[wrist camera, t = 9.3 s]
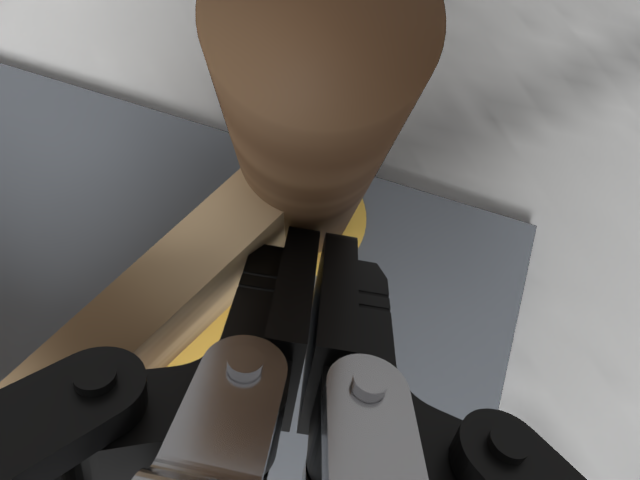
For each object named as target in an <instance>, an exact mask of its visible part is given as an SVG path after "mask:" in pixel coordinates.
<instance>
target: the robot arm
mask: <svg viewBox="0 0 640 480" xmlns="http://www.w3.org/2000/svg"><path fill="white" fill-rule="evenodd" d="M319 240H320V231H315V230H309V229H301V228H295V227H290V226H289V228H288V232H287V237H286V241H285V246H284V247H279V246H273V245H267V244H264V245H262V246H261V247H259V248H258V249H257V250H255V251H254V252H252V253H251V254H249V255H248V258H247V261H246V264H245V266H244V269H243V274H242V275H241V278H240V281H239V285H238V287H237V290H236V293H235V296H234V299H233V302H232V305H231V308H230V311H229V314H228V317H227V320H226V323H225V326H224V329H223V332H222V335H221V337H220V340H219V341H218V342H216V343H214V344H213V345H212V346H211V347H210V348H209V349H208V350H207V351H206V352H205V354H204V356H203V357H201V358H200V359H198V360H195V361H193V362H191V363H187V364H184V365H179V366H172V367H162V368H153V369H146V368H145V366H144V364H143V362H142V361H141V360H140V358H139V357H138V356H136V355H135V354H134V353H132V352H130V351H128V350H125V349H123V348H118V347H110V346H102V347H94V348H88V349H85V350H82V351H79V352H77V353H74V354H72V355H70V356H68V357H66V358H64V359H61V360H59V361H57V362H55V363H53V364H51V365H49V366H47V367H45V368H43V369H41V370H39V371H36V372H34V373H32V374H30V375H28V376H26V377H24V378H22V379H20V380H18V381H16V382H14V383H11V384H9V385H7V386H5V387H3V388H1V389H0V480H268V476H269V471H270V468H271V467H272V465H273V463H274V461H275V458H276V454H277V448H278V443H279V438H280V433H281V431H284V432H290V427H291V422H292V417H293V413H294V408H295V403H296V398H297V393H298V388H299V384H300V379H301V374H302V369H303V364H304V360H305V364H304V373H303V382H302V390H301V399H300V408H299V416H298V425H297V433H299V434H305V435H309V436H308V447H307V456H306V460H305V464H304V468H303V473H302V480H587V479H586V478H585V477H584V476H583V475H581V474H580V473H579V472H578V471H577V470H576V469H575V468H574V467H573V466H572V465H571V464H570V463H568V462H567V461H566V460H565V459H564V458H563V457H562V456H561V455H560V454H559V453H558V452H557V451H556V450H554V449H553V448H552V447H551V446H550V445H549V444H548V443H547V442H546V441H545V440H544V439H543V438H542V437H540V436H539V435H538V434H537V433H536V432H535V431H534V430H533V429H532V428H531V427H529V426H528V425H527V424H526V423H524V422H523V421H522V420H520V419H519V418H517V417H515V416H513V415H511V414H509V413H506V412H504V411H500V410H497V409H489V408H485V409H478V410H474V411H472V412H470V413H469V414H468V415H466V416H465V418H464V419H463V420H461V419H459V418H457V417H454V416H452V415H450V414H448V413H445V412H443V411H441V410H439V409H436V408H434V407H432V406H430V405H428V404H426V403H425V402H423V401H422V400H420V399H419V398H418V397H417V396H415V395H414V394H413V393H412V392H411V391H410V388H409V385H408V383H407V381H406V379H405V377H404V376H403V375H402V373H401V372H400V371H399V370H398V369H397V365H396V357H395V347H394V337H393V327H392V318H391V312H390V309H391V308H390V298H389V288H388V279H387V277H386V276H385V274H384V273H383V271H382V270H381V268H380V267H379V265H378V264H377V263H373V262H368V261H362V260H358V238H356V237H351V236H345V235H339V234H333V233H327V232H326V234H325V238H324V242H323V247H322V252H321V257H320V262H319V267H318V272H317V277H316V282H315V275H316V267H317V258H318V249H319ZM314 284H315V287H314ZM305 355H306V356H305Z"/></svg>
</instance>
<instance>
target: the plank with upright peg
mask: <svg viewBox="0 0 640 480" xmlns="http://www.w3.org/2000/svg"><path fill="white" fill-rule="evenodd" d="M196 27H197V33H198V38H199V41H200V44H201V47H202V51H203V54H204V57H205V60H206V63H207V66H208V69H209V72H210V75H211V79H212V82H213V85H214V88H215V91H216V94H217V97H218V100H219V103H220V106H221V109H222V113H223V116H224V119H225V122H226V125H227V128H228V131H229V134H230V137H231V140H232V143H233V147H234V150H235V153H236V156H237V159H238V162H239V165H240V169H239V170H238V171H237V172H235V173H234V174H233V175H232V176H231V177H230V178H229V179H228V180H227V181H225V182H224V183H223V184H222V185H221V186H220V187H219V188H218V189H216V190H215V191H214V192H213V193H212V194H211V195H210V196H209V197H207V198H206V199H205V200H204V201H203V202H202V203H201V204H200V205H198V206H197V207H196V208H195V209H194V210H193V211H192V212H191V213H189V214H188V215H187V216H186V217H185V218H184V219H183V220H182V221H180V222H179V223H178V224H177V225H176V226H175V227H174V228H173V229H172V230H170V231H169V232H168V233H167V234H166V235H165V236H164V237H163V238H161V239H160V240H159V241H158V242H157V243H156V244H155V245H154V246H152V247H151V248H150V249H149V250H148V251H147V252H146V253H145V254H143V255H142V256H141V257H140V258H139V259H138V260H137V261H136V262H134V263H133V264H132V265H131V266H130V267H129V268H128V269H127V270H125V271H124V272H123V273H122V274H121V275H120V276H119V277H118V278H116V279H115V280H114V281H113V282H112V283H111V284H110V285H109V286H108V287H106V288H105V289H104V290H103V291H102V292H101V293H100V294H99V295H97V296H96V297H95V298H94V299H93V300H92V301H91V302H90V303H88V304H87V305H86V306H85V307H84V308H83V309H82V310H81V311H79V312H78V313H77V314H76V315H75V316H74V317H73V318H72V319H70V320H69V321H68V322H67V323H66V324H65V325H64V326H63V327H61V328H60V329H59V330H58V331H57V332H56V333H55V334H54V335H52V336H51V337H50V338H49V339H48V340H47V341H46V342H45V343H44V344H42V345H41V346H40V347H39V348H38V349H37V350H36V351H35V352H33V353H32V354H31V355H30V356H29V357H28V358H27V359H26V360H24V361H23V362H22V363H21V364H20V365H19V366H18V367H17V368H15V369H14V370H13V371H12V372H11V373H10V374H9V375H8V376H6V377H5V378H4V379H3V380H2V381H1V382H0V389H1V388H3V387H5V386H7V385H9V384H11V383H14V382H16V381H18V380H20V379H22V378H24V377H26V376H28V375H30V374H32V373H34V372H36V371H39V370H41V369H43V368H45V367H47V366H49V365H51V364H53V363H55V362H57V361H59V360H61V359H64V358H66V357H68V356H70V355H72V354H74V353H77V352H79V351H82V350H85V349H88V348H94V347H102V346H110V347H118V348H123V349H125V350H128V351H130V352H132V353H134V354H135V355H136V356H138V357H139V358H140V360H141V361H142V362H143V364H144V366H145V368H146V369H153V368H162V367H167V366H168V365H169V364H170V363H171V362H172V361H173V360H174V359H175V358H176V357H177V356H178V355H179V354H180V353H181V352H182V351H183V350H184V349H186V348H187V347H188V346H189V345H190V344H191V343H192V342H193V341H194V340H195V339H196V338H197V337H198V336H199V335H200V334H201V333H202V332H203V331H204V330H205V329H207V328H208V327H209V326H210V325H211V324H212V323H213V322H214V321H215V320H216V319H217V318H218V317H219V316H220V315H221V314H222V313H223V312H224V311H225V310H226V309H228V308H229V307H230V306H231V305H232V302H233V299H234V296H235V293H236V290H237V287H238V285H239V281H240V278H241V275H242V274H243V269H244V266H245V264H246V261H247V258H248V255H249V254H251V253H252V252H254V251H255V250H257V249H258V248H259V247H261V246H262V245H264V244H267V245H273V246H279V247H284V246H285V241H286V237H287V232H288V228H289V226H290V227H295V228H301V229H309V230H315V231H320V240H319V249H318V253H319V252H322V247H323V242H324V238H325V234H326V232H327V233H333V234H339V235H342V234H343V232H344V230H345V229H346V227H347V225H348V223H349V222H350V220H351V218H352V216H353V214H354V213H355V211H356V209H357V207H358V206H359V204H360V202H361V200H362V198H363V197H364V195H365V193H366V191H367V189H368V188H369V186H370V184H371V182H372V181H373V179H374V177H375V175H376V173H377V172H378V170H379V168H380V166H381V165H382V163H383V161H384V159H385V157H386V156H387V154H388V152H389V150H390V149H391V147H392V145H393V143H394V141H395V140H396V138H397V136H398V134H399V133H400V131H401V129H402V127H403V125H404V124H405V122H406V120H407V118H408V117H409V115H410V113H411V111H412V109H413V108H414V106H415V104H416V102H417V100H418V99H419V97H420V95H421V93H422V92H423V90H424V88H425V86H426V84H427V83H428V81H429V79H430V77H431V76H432V74H433V72H434V70H435V68H436V66H437V64H438V62H439V59H440V56H441V53H442V50H443V46H444V40H445V34H446V13H445V5H444V0H196Z"/></svg>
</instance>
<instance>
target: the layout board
mask: <svg viewBox="0 0 640 480" xmlns="http://www.w3.org/2000/svg"><path fill="white" fill-rule="evenodd" d="M239 169H240V165H239V162H238V159H237V156H236V153H235V150H234V147H233V143H232V140H231V137H230V134H229V132H226V131H223V130H220V129H216V128H213V127H210V126H206V125H203V124H200V123H197V122H193V121H190V120H187V119H183V118H180V117H177V116H173V115H170V114H167V113H164V112H160V111H157V110H154V109H150V108H147V107H144V106H141V105H137V104H134V103H131V102H127V101H124V100H121V99H117V98H114V97H111V96H108V95H104V94H101V93H98V92H94V91H91V90H88V89H85V88H81V87H78V86H75V85H71V84H68V83H65V82H62V81H58V80H55V79H52V78H48V77H45V76H42V75H38V74H35V73H32V72H29V71H25V70H22V69H19V68H15V67H12V66H9V65H6V64H2V63H0V382H1V381H2V380H3V379H4V378H5V377H6V376H8V375H9V374H10V373H11V372H12V371H13V370H14V369H15V368H17V367H18V366H19V365H20V364H21V363H22V362H23V361H24V360H26V359H27V358H28V357H29V356H30V355H31V354H32V353H33V352H35V351H36V350H37V349H38V348H39V347H40V346H41V345H42V344H44V343H45V342H46V341H47V340H48V339H49V338H50V337H51V336H52V335H54V334H55V333H56V332H57V331H58V330H59V329H60V328H61V327H63V326H64V325H65V324H66V323H67V322H68V321H69V320H70V319H72V318H73V317H74V316H75V315H76V314H77V313H78V312H79V311H81V310H82V309H83V308H84V307H85V306H86V305H87V304H88V303H90V302H91V301H92V300H93V299H94V298H95V297H96V296H97V295H99V294H100V293H101V292H102V291H103V290H104V289H105V288H106V287H108V286H109V285H110V284H111V283H112V282H113V281H114V280H115V279H116V278H118V277H119V276H120V275H121V274H122V273H123V272H124V271H125V270H127V269H128V268H129V267H130V266H131V265H132V264H133V263H134V262H136V261H137V260H138V259H139V258H140V257H141V256H142V255H143V254H145V253H146V252H147V251H148V250H149V249H150V248H151V247H152V246H154V245H155V244H156V243H157V242H158V241H159V240H160V239H161V238H163V237H164V236H165V235H166V234H167V233H168V232H169V231H170V230H172V229H173V228H174V227H175V226H176V225H177V224H178V223H179V222H180V221H182V220H183V219H184V218H185V217H186V216H187V215H188V214H189V213H191V212H192V211H193V210H194V209H195V208H196V207H197V206H198V205H200V204H201V203H202V202H203V201H204V200H205V199H206V198H207V197H209V196H210V195H211V194H212V193H213V192H214V191H215V190H216V189H218V188H219V187H220V186H221V185H222V184H223V183H224V182H225V181H227V180H228V179H229V178H230V177H231V176H232V175H233V174H234V173H235V172H237V171H238V170H239ZM536 227H537V226H536V225H532V224H529V223H526V222H522V221H519V220H516V219H513V218H509V217H506V216H503V215H499V214H496V213H493V212H489V211H486V210H483V209H480V208H476V207H473V206H470V205H466V204H463V203H460V202H457V201H453V200H450V199H447V198H443V197H440V196H437V195H434V194H430V193H427V192H424V191H420V190H417V189H414V188H410V187H407V186H404V185H401V184H397V183H394V182H391V181H387V180H384V179H381V178H378V177H374V179H373V181H372V182H371V184H370V186H369V188H368V189H367V191H366V193H365V195H364V197H363V198H362V200H361V202H360V204H359V206H358V207H357V209H356V211H355V213H354V214H353V216H352V218H351V220H350V222H349V223H348V225H347V227H346V229H345V230H344V232H343V234H342V235H345V236H351V237H356V238H358V260H362V261H368V262H373V263H377V264H378V265H379V267H380V268H381V270H382V271H383V273H384V274H385V276H386V277H387V279H388V288H389V298H390V308H391V309H390V312H391V318H392V327H393V337H394V347H395V357H396V365H397V369H398V370H399V371H400V372H401V373H402V375H403V376H404V377H405V379H406V381H407V383H408V385H409V388H410V391H411V392H412V393H413V394H414V395H415V396H417V397H418V398H419V399H420V400H422V401H423V402H425V403H426V404H428V405H430V406H432V407H434V408H436V409H439V410H441V411H443V412H445V413H448V414H450V415H452V416H454V417H457V418H459V419H461V420H463V419H464V418H465V416H466V415H468V414H469V413H470V412H472V411H474V410H478V409H485V408H489V409H497V410H498V408H499V404H500V399H501V394H502V389H503V385H504V380H505V375H506V370H507V365H508V361H509V356H510V351H511V346H512V342H513V337H514V332H515V327H516V323H517V318H518V313H519V308H520V304H521V299H522V294H523V289H524V284H525V280H526V275H527V270H528V265H529V261H530V256H531V251H532V246H533V242H534V237H535V232H536ZM320 257H321V252H319V253H318V258H317V267H316V275H315V282H316V277H317V272H318V267H319V262H320ZM314 287H315V284H314ZM230 308H231V306H230V307H229V308H228V309H226V310H225V311H224V312H223V313H222V314H221V315H220V316H219V317H218V318H217V319H216V320H215V321H214V322H213V323H212V324H211V325H210V326H209V327H208V328H207V329H205V330H204V331H203V332H202V333H201V334H200V335H199V336H198V337H197V338H196V339H195V340H194V341H193V342H192V343H191V344H190V345H189V346H188V347H187V348H186V349H184V350H183V351H182V352H181V353H180V354H179V355H178V356H177V357H176V358H175V359H174V360H173V361H172V362H171V363H170V364H169V365H168V366H167V367H172V366H179V365H184V364H187V363H191V362H193V361H195V360H198V359H200V358H201V357H203V356H204V354H205V352H206V351H207V350H208V349H209V348H210V347H211V346H212V345H213V344H214V343H216V342H218V341H219V340H220V337H221V335H222V332H223V329H224V326H225V323H226V320H227V317H228V314H229V311H230ZM305 356H306V355H305ZM304 364H305V360H304ZM304 364H303V369H302V374H301V379H300V384H299V388H298V393H297V398H296V403H295V408H294V413H293V417H292V422H291V427H290V432H284V431H281V433H280V438H279V443H278V448H277V454H276V458H275V461H274V463H273V465H272V467H271V468H270V471H269V476H268V480H302V473H303V468H304V464H305V460H306V456H307V447H308V436H309V435H305V434H299V433H297V425H298V416H299V408H300V399H301V390H302V382H303V373H304Z"/></svg>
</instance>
